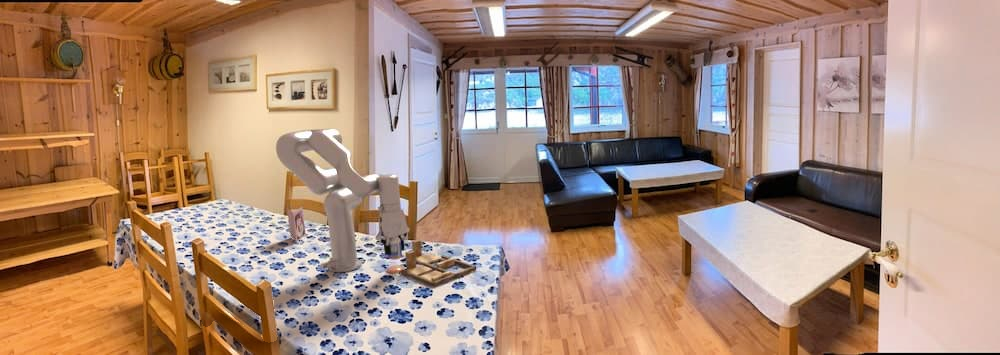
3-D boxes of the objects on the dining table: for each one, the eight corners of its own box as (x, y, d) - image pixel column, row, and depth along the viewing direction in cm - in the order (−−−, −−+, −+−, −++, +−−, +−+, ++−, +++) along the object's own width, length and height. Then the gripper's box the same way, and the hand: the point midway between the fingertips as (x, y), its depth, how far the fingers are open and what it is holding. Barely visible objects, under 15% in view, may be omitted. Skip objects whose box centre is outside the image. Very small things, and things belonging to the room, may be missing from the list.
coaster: (393, 274, 188) (393, 273, 188) (382, 270, 193) (382, 269, 193) (408, 269, 193) (408, 268, 193) (397, 265, 198) (397, 264, 197)
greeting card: (298, 243, 231) (294, 212, 228) (282, 244, 231) (278, 213, 228) (307, 235, 242) (304, 206, 239) (292, 236, 242) (288, 207, 239)
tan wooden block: (415, 277, 185) (414, 259, 183) (401, 271, 191) (399, 254, 190) (432, 270, 190) (431, 253, 189) (417, 265, 197) (416, 248, 195)
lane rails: (433, 287, 175) (433, 280, 174) (400, 273, 189) (400, 267, 188) (476, 269, 190) (476, 264, 189) (443, 258, 203) (442, 253, 203)
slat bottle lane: (439, 270, 190) (438, 253, 189) (408, 258, 204) (406, 242, 203) (454, 264, 196) (453, 247, 195) (423, 253, 210) (422, 238, 209)
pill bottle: (395, 254, 196) (393, 230, 194) (405, 256, 192) (403, 232, 191) (385, 258, 191) (382, 234, 189) (394, 261, 188) (392, 236, 186)
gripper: (376, 213, 179) (381, 260, 183) (414, 203, 191) (418, 248, 195) (365, 210, 184) (370, 256, 188) (403, 201, 197) (407, 244, 200)
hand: (394, 251), depth 191 cm, fingers closed on pill bottle, 5 cm apart
